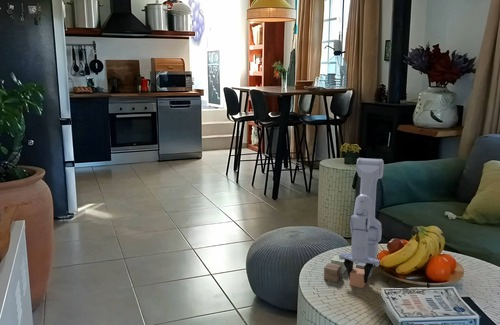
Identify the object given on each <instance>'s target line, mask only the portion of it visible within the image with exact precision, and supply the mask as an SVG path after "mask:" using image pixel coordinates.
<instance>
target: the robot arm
mask: <svg viewBox="0 0 500 325" xmlns="http://www.w3.org/2000/svg"><path fill="white" fill-rule="evenodd" d="M384 162H385V161H384V160H383V158H364V157H358V158H357V161H356V164H355V166H356V167H355V168H356V173H357V177H359V178H360V186H359V187H360V188H359V194H358V196H357V197H356V198H355V203H354V208H353V214H352V215H351V216H350V221H349V227H350V234H351V248H350V249H351V250H350V251H351V252H350V253H345V252H340V253H339V255H338V256H339V259H340V260H342V259H344V260H345V261H344V266H345V267H346V269H347V270H346V271H347V275H348V280H349V281H350V272H351V271H352V269H353V268H354V263H355V264H357V263H365V264H366V265H365V266H364V272H365V277H364V283H366V284H367V283H368V280H369V279H368V276H369V273H370V271H371V269H372V270H373V267H377V268H378V267H379V266H380V262H381V261H380V259H379V260H378V259H376V257H377V255H378V256H379V243H380V242H381V240H382V231H383V230H382V222H380V221H379V220H378V219H377V218H376V202H377V185H378V184H377V183H378V180H380V179H383V176H384V169H385V166H384V165H385V164H384ZM374 265H375V266H374Z"/></svg>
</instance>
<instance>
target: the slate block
mask: <svg viewBox="0 0 500 325" xmlns="http://www.w3.org/2000/svg"><path fill="white" fill-rule="evenodd" d="M365 265H366V264H365V263H355V268H359V269H364V266H365ZM372 274H373V268H372V269H371V271H370V273H369V276H368V280H369V279H370V278H371V277H372Z"/></svg>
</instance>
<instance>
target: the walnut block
mask: <svg viewBox="0 0 500 325" xmlns="http://www.w3.org/2000/svg"><path fill="white" fill-rule="evenodd" d="M341 278H342V274H341V265H337V264H332V263H331V262H328V263H327V264H326V265H325V266H324V268H323V280H324V281H328V282H333V283H338V282H339V280H341Z"/></svg>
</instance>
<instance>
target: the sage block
mask: <svg viewBox="0 0 500 325" xmlns="http://www.w3.org/2000/svg"><path fill="white" fill-rule="evenodd" d="M344 261H345V260H344V259H342V260H340V259H339V255H338V254H337V255H334V256H333V257H332V258H331V259H330V263H332V264H337V265H341V275H343V274H345V272H346V271H347V269H346V267H345V266H344Z"/></svg>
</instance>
